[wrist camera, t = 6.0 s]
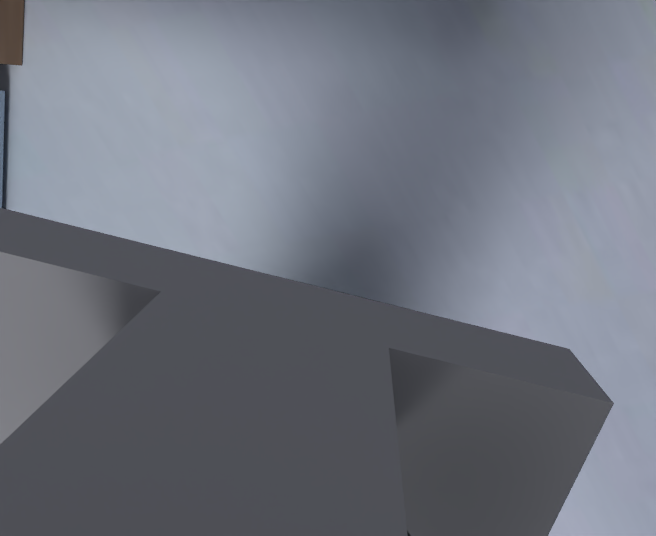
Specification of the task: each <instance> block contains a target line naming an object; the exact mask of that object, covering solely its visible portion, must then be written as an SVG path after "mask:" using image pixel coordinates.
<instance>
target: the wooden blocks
mask: <svg viewBox="0 0 656 536" xmlns="http://www.w3.org/2000/svg"><path fill="white" fill-rule="evenodd" d="M23 21H24V0H0V64H11V65H22V50H23Z"/></svg>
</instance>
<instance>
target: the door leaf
mask: <svg viewBox="0 0 656 536" xmlns="http://www.w3.org/2000/svg"><path fill="white" fill-rule="evenodd" d="M4 106H5V91H2V90H0V208H2V186H3V146H4Z"/></svg>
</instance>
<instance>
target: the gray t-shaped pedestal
mask: <svg viewBox="0 0 656 536" xmlns="http://www.w3.org/2000/svg"><path fill="white" fill-rule="evenodd" d="M613 404H614V403H613V402H612V401H611V399H610V398H609V397H608V396H607V394H606V393H605V392H604V391H603V390H602V388H601V387H600V386H599V385H598V383H597V382H596V381H595V380H594V379H593V377H592V376H591V375H590V374H589V373H588V371H587V370H586V369H585V368H584V366H583V365H582V364H581V363H580V362H579V360H578V359H577V358H576V357H575V355H574V354H573V353H572V352H571V351H570V349H567V348H563V347H559V346H555V345H551V344H547V343H543V342H539V341H535V340H531V339H527V338H523V337H519V336H515V335H511V334H507V333H503V332H499V331H495V330H491V329H487V328H483V327H479V326H475V325H471V324H466V323H462V322H458V321H454V320H450V319H446V318H442V317H438V316H434V315H430V314H426V313H422V312H418V311H414V310H410V309H406V308H402V307H398V306H394V305H390V304H386V303H382V302H378V301H374V300H370V299H366V298H362V297H358V296H354V295H350V294H346V293H341V292H337V291H333V290H329V289H325V288H321V287H317V286H313V285H309V284H305V283H301V282H297V281H293V280H289V279H285V278H281V277H277V276H273V275H269V274H265V273H261V272H257V271H253V270H249V269H245V268H241V267H237V266H233V265H229V264H225V263H221V262H217V261H212V260H208V259H204V258H200V257H196V256H192V255H188V254H184V253H180V252H176V251H172V250H168V249H164V248H160V247H156V246H152V245H148V244H144V243H140V242H136V241H132V240H128V239H124V238H120V237H116V236H112V235H108V234H104V233H100V232H96V231H92V230H87V229H83V228H79V227H75V226H71V225H67V224H63V223H59V222H55V221H51V220H47V219H43V218H39V217H35V216H31V215H27V214H23V213H19V212H15V211H11V210H7V209H3V208H0V536H408V535H407V530H408V532H409V533H410V535H411V536H548V534H549V532H550V530H551V528H552V526H553V524H554V522H555V520H556V518H557V516H558V514H559V512H560V510H561V508H562V506H563V504H564V502H565V500H566V498H567V496H568V494H569V492H570V490H571V488H572V486H573V484H574V482H575V480H576V478H577V476H578V474H579V472H580V470H581V468H582V466H583V464H584V462H585V460H586V458H587V456H588V454H589V452H590V450H591V448H592V446H593V444H594V442H595V440H596V438H597V436H598V434H599V432H600V430H601V428H602V426H603V424H604V422H605V420H606V418H607V416H608V414H609V412H610V410H611V408H612V406H613Z"/></svg>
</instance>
